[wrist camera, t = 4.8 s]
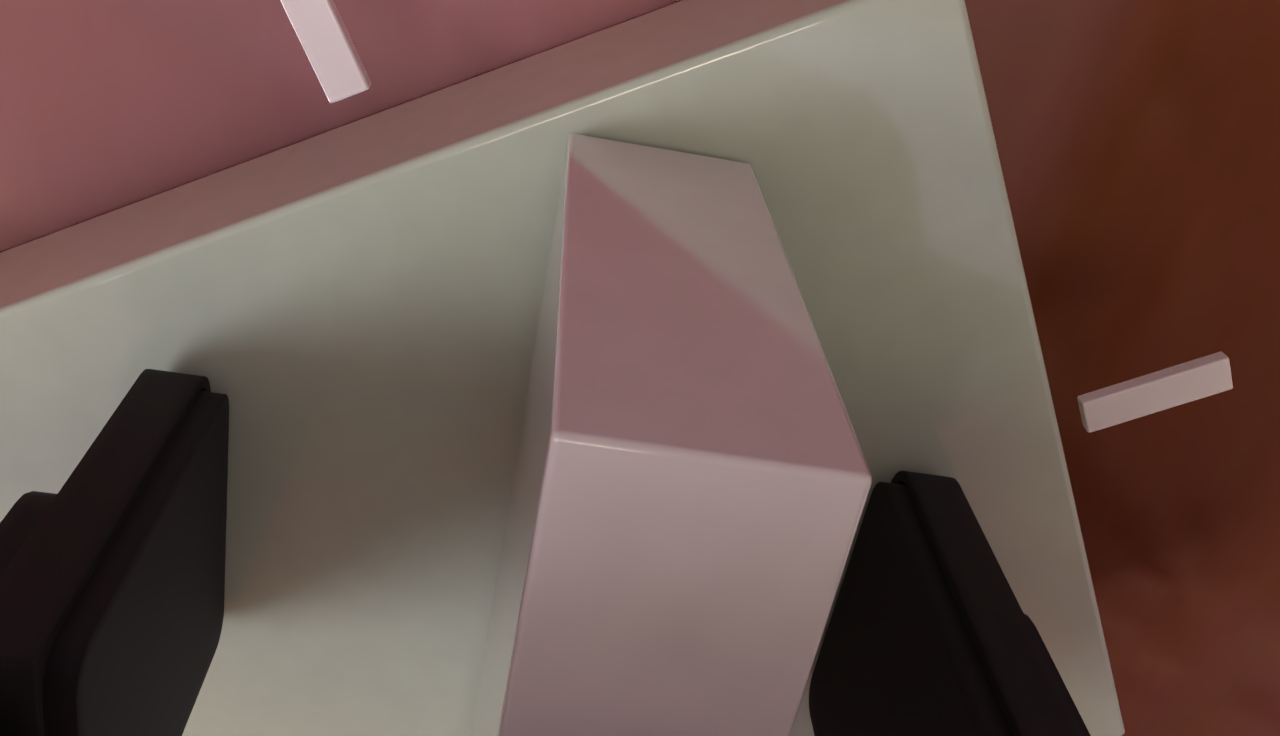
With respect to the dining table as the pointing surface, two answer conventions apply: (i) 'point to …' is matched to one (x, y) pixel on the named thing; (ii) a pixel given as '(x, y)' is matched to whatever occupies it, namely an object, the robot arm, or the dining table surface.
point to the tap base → (507, 322)
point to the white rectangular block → (668, 467)
